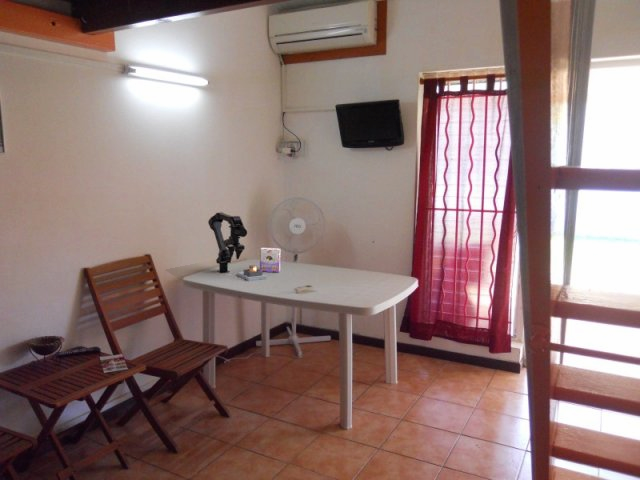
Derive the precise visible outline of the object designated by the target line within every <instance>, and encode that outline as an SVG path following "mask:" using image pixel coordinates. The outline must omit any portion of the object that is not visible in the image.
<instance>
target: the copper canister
mask: <svg viewBox="0 0 640 480" xmlns="http://www.w3.org/2000/svg"><path fill="white" fill-rule="evenodd" d="M248 269H249V271H250V272H256V271H257V269H258V266H257V265H255V264H253V265H252V264H251V265H249V268H248Z"/></svg>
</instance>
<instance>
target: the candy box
mask: <svg viewBox="0 0 640 480" xmlns="http://www.w3.org/2000/svg"><path fill="white" fill-rule="evenodd" d="M259 250H260V251H259V254H260V255H259V270H261V271H262V273H280V272H281V254H282V253H281V251H282V249H281V248H277V247H261V248H259Z"/></svg>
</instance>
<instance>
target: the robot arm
mask: <svg viewBox="0 0 640 480" xmlns="http://www.w3.org/2000/svg"><path fill="white" fill-rule="evenodd" d="M225 221H226V222H227V224H229V225H228V228H229V229H230V232H229V233H230V235H229V236H228V238H226V239H225V240H224V237H223V232H222V226H223V225H222V223H223V222H225ZM208 225H209V228H210V229H211V231H213V234H214V236H215V241H216V243H217V247H218V250H219V251H218V254H217V255H218V256H217V258H216V260H215V261H216V264H219V269H217V272H219V273H221V274H222V273H230V270H229V269H228V268H229V267H228V266H229V264H230V263H232V262H231V261H232V258H233V255H234V253H235V257H236V260H239V259H240V257H241V255H242V253H243V252H244V250H245V245H244V244H242V243H240V239H241V238H244V237H246V236H247V235H248V231H247V229H246V227H245V226H244V223H243V221H242V218H241V216H239V215H230V214H227V213H224V212H222V211H221V212H215V213H214V215H212V216H211V217H210V218H209V219H208Z"/></svg>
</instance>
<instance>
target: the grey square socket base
mask: <svg viewBox="0 0 640 480" xmlns="http://www.w3.org/2000/svg"><path fill="white" fill-rule="evenodd" d="M236 274H237V276H238V277H240V278H242V279H244V280H246V281H248V282H250V281H251V282H252V281H259V280H267V275H265V274H263V272H262V271H261V270H260V268H259V269H258V268H257V271H256V272H250V271H249V268H247V269H243V271H238V272H237V273H236Z"/></svg>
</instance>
